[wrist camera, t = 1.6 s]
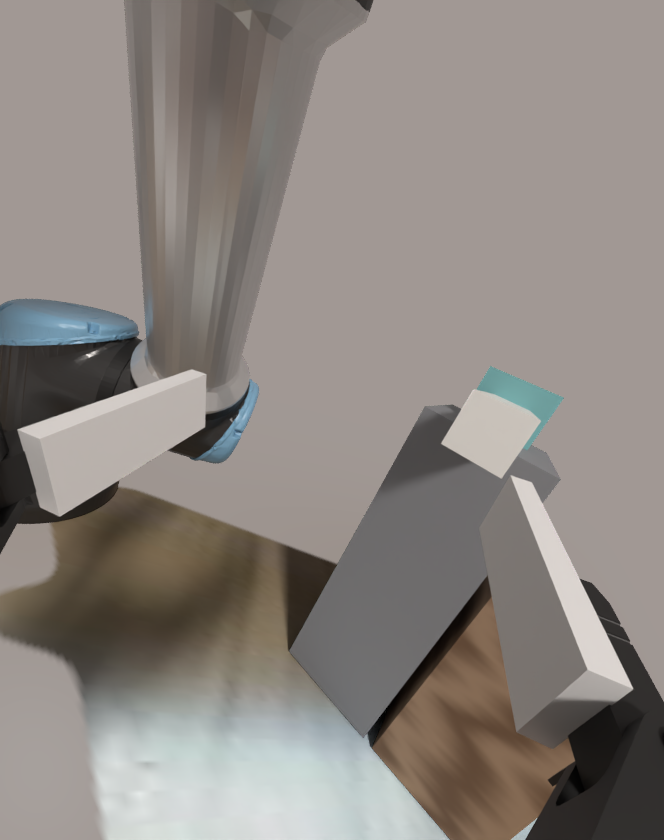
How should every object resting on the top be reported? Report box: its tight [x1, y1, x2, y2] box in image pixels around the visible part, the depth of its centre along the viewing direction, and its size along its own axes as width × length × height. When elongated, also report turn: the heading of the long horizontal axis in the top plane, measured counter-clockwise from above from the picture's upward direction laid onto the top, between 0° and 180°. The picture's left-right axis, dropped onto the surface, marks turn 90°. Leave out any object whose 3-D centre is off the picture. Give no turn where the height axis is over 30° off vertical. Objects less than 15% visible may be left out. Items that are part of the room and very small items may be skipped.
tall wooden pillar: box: [372, 575, 575, 840], centre depth 29 cm, size 10×12×20 cm
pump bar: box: [441, 366, 564, 479], centre depth 23 cm, size 6×21×5 cm, turn 145°
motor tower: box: [289, 405, 561, 738], centre depth 32 cm, size 10×12×30 cm
